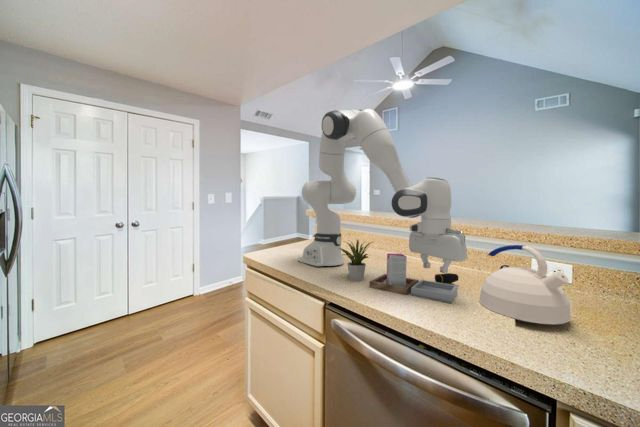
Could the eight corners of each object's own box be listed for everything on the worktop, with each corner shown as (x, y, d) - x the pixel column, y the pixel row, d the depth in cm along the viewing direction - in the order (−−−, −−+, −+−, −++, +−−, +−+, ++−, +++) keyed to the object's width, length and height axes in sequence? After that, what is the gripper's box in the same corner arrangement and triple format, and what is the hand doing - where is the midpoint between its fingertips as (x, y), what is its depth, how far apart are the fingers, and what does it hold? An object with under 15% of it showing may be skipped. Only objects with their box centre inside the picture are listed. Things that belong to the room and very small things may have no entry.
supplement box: (406, 289, 88) (406, 256, 88) (389, 288, 89) (389, 256, 88) (402, 284, 94) (402, 253, 94) (385, 283, 94) (386, 253, 94)
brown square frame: (369, 287, 90) (369, 281, 90) (384, 279, 100) (384, 274, 100) (406, 295, 82) (406, 289, 82) (418, 285, 92) (418, 279, 92)
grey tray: (411, 295, 82) (411, 287, 82) (421, 286, 91) (421, 279, 91) (450, 303, 75) (451, 295, 75) (457, 293, 84) (457, 285, 84)
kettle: (536, 330, 59) (538, 253, 59) (462, 299, 79) (464, 241, 79) (593, 320, 65) (595, 249, 64) (511, 293, 85) (512, 239, 84)
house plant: (364, 273, 110) (364, 235, 109) (384, 281, 97) (384, 239, 96) (334, 276, 104) (334, 236, 104) (351, 285, 91) (351, 240, 91)
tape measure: (460, 283, 91) (458, 272, 92) (445, 285, 89) (443, 274, 90) (446, 282, 97) (444, 272, 98) (432, 285, 95) (430, 274, 96)
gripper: (472, 230, 74) (471, 277, 74) (419, 225, 93) (419, 263, 93) (457, 230, 72) (456, 279, 72) (406, 226, 90) (405, 264, 91)
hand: (435, 270), depth 83 cm, fingers open, 5 cm apart
